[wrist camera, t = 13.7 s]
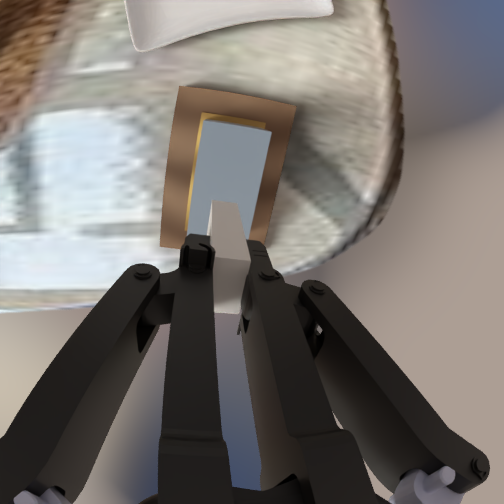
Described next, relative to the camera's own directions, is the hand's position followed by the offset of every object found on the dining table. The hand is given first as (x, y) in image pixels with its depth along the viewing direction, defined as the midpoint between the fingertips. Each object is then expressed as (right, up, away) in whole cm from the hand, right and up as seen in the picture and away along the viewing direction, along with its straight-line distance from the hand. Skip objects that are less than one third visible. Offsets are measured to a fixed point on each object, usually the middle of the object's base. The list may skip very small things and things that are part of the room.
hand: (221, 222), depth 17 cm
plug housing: (-1, +6, +12) cm, 13 cm away
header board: (-1, +7, +13) cm, 15 cm away
